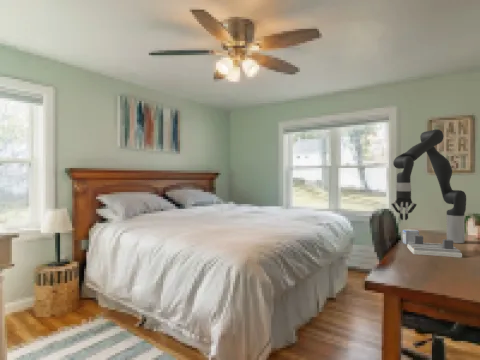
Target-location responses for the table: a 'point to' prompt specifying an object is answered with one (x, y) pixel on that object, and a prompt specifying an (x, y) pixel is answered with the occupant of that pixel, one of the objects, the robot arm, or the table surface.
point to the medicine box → (409, 235)
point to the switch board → (433, 250)
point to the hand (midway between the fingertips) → (403, 219)
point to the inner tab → (418, 239)
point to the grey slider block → (447, 244)
